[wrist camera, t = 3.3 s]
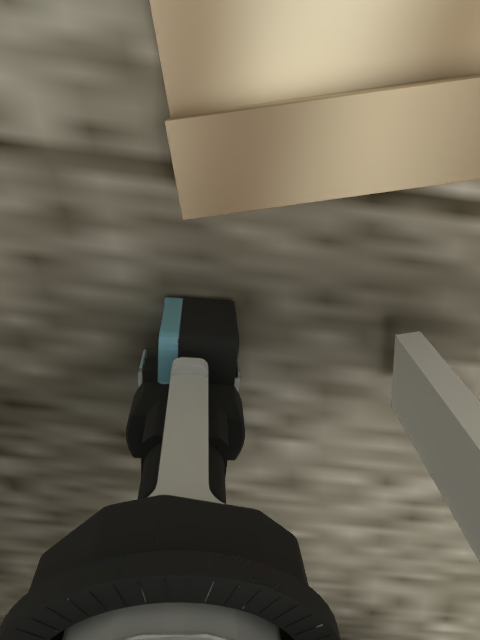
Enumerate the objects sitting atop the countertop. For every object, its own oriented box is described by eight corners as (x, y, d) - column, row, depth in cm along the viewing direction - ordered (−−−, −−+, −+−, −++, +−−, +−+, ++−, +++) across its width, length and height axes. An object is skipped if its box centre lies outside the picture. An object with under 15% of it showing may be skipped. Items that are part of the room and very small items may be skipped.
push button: (256, 452, 17) (309, 855, 8) (112, 447, 16) (0, 877, 8) (281, 291, 14) (412, 663, 5) (104, 279, 13) (-100, 673, 4)
